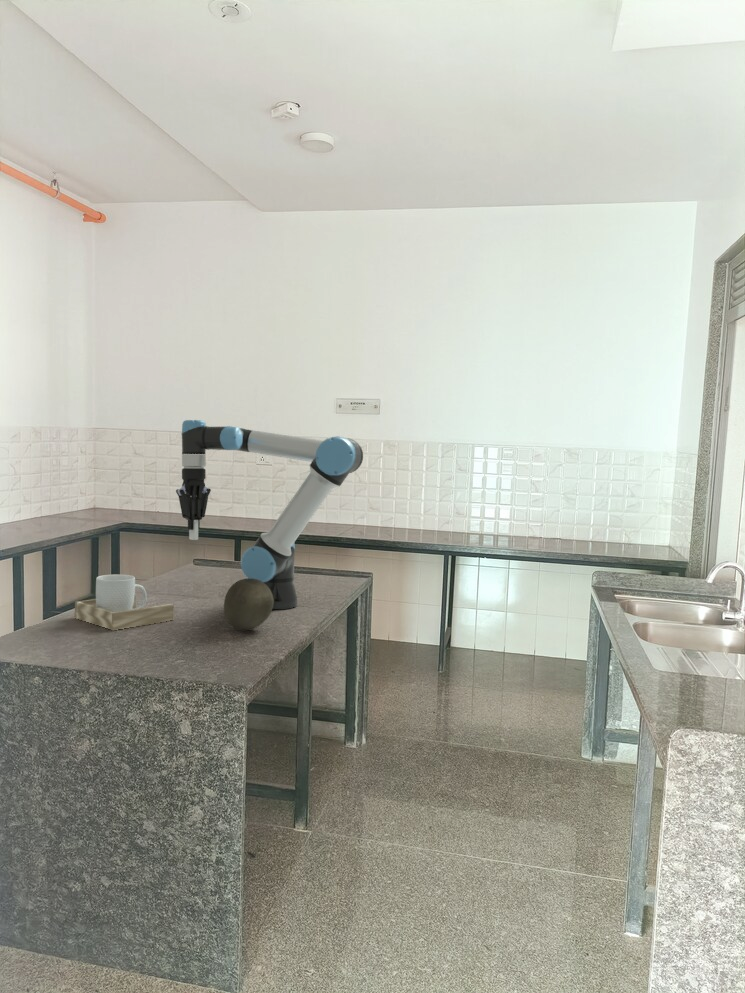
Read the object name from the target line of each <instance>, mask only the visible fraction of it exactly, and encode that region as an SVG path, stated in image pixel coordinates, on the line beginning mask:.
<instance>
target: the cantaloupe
mask: <svg viewBox="0 0 745 993" xmlns="http://www.w3.org/2000/svg"><path fill="white" fill-rule="evenodd" d="M273 603H274V599H273V596H272V593H271V590H270V589H269V587H268V586H267V585H266V584H265V583H263V582H262V581H260V580H257V579H253V578H252V579H248V578H242V579H239V580H237V581H236V582H234V583H233V584H232V585H231V586H230V587H229V588H228V590H227V591H226V594H225V597H224V601H223V611H224V616H225V619H226V620H227V623H228V624H229V625H230V626H232V628H234V629H235V630H238V631H251V630H252V629H255V628H257V627H259V626H260V625H262V624H263V623H264V622H266V620H268V618H269V616H270V615H271V614H272V611H273V609H272V608H273Z"/></svg>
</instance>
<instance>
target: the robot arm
mask: <svg viewBox="0 0 745 993" xmlns="http://www.w3.org/2000/svg"><path fill="white" fill-rule="evenodd" d="M207 450H208V451H209V450H213V451H214V450H217V451H219V450H220V451H240V452H243V453H245V452H246V453H252V454H253V453H254V454H259V455H265V456H272V457H278V458H285V459H291V460H292V459H293V460H297V461H305V462H311V463H310V464H309V470H310V471H309V474H308V475H307V476H306V478H305V480H304V481H303V482H302V483H301V485H300V486H299V488H298V490H297V491H296V493H294V495H293V497H291V500H290V501H289V502H288V504H287V505H286V507H285V508H284V509H283V511H282V512H281V514H280V515H279V516H278V518H277V519H276V521H275V522H274V524H273V525H272V526H271V528H270V529H269V530H268V531H267V532H262V533H261V534H260V535H259V537H258V538H257V540H256V541H255V542H254V544H253V546H251V547H249V548H247V549H246V550H245V551H244V552H243V553H242V556H241V560H240V567H241V571H242V573H243V574H244V576H245V577H246V579H252V578H253V579H257V580H260V581H262V582H263V583H265V584H266V585H267V586H268V587H269V589H270V590H271V593H272V596H273V599H274V603H273V608H272V610H287V609H293V607H294V608H296V607H298V605H299V597H298V596H297V593H296V592H297V591H296V587H295V583H294V578H295V577H294V576H295V574H294V573H295V556H296V555H295V553H296V552H295V551H296V545H295V542H296V541H297V539H298V537H299V536H300V535H301V533H302V532H303V531H304V529H305V528H306V526H307V525H308V524H309V522H310V520H312V518H313V516H314V515H315V513H316V512H317V511H318V509H319V508H320V506H321V505H322V504H323V503H324V501H325V499H326V498H327V497H328V495H329V494H330V492H332V490H333V489H335V488H339V487H341V485H342V484H343V482H344V481H345V479H347V477H348V476H349V475H350V474H351V473H354V472H356V471H357V470H359V468H360V467H361V466H362V463H363V460H364V452H363V449H362V446H361V445H360V443H358V442H357V441H356V440H354V439H353V438H350V437H349V438H347V437H343V436H332V437H329V438H328V437H326V438H325V439H324V440H321V439H316V438H306V437H300V436H293V435H286V434H280V433H273V432H266V431H259V430H253V429H246V428H242V427H241V428H240V427H238V426H230V425H227V426H207V425H206V421H205V420H201V419H200V420H197V419H185V420H183V421H182V424H181V466H182V467H183V468H182V469H181V479H182V484H181V487H180V488H177V489H176V490H175V492H176V494H177V496H178V500H179V506H180V510H181V515H182V519H185V520H186V521H187V530H188V538H189V540H191V541H199V530H200V528H201V526H200V524H201V523H200V522H201V520H203V518H205V515H206V512H207V511H206V510H207V505H208V502H209V495H210V494H211V491H212V489H211V488H208V487H207V486H206V483H205V480H206V476H207V475H206V468H205V467H206V451H207Z"/></svg>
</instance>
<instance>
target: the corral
mask: <svg viewBox="0 0 745 993" xmlns="http://www.w3.org/2000/svg"><path fill="white" fill-rule="evenodd" d="M136 599H137V594H136V593H135V597H134V603H133V608H132V609H134V610H128V611H122V612H116V613H115V612H112V611H108V610H105V609H102V608H99V607H97V605H96V598H91V599H86V600H78V601H74V619H75V618H76V619H75V620H78V619H79V621H81V620H82V622H84V621H86V622H85V623H87V622H89V623H88V624H90V623H92V624H91V625H93V624H95V625H94V626H96V625H99V626H102V627H105V628H108V629H111V630H117V631H119V630H118V629H123V630H125V629H124V628H129V627H134V628H137V627H136V626H140V627H143V626H142V625H145V626H149V625H148V624H151V625H154V623H156V624H160V622H162V623H167V622H171V621H170V620H173V621H174V612H175V611H174V606H175V604H174V603H167V604H166V603H165V604H161V605H154V606H148V607H142V608H141V609H135V608H137V607H136V603H137V600H136ZM166 621H167V622H166ZM99 626H98V627H99ZM102 627H101V628H102ZM105 628H104V629H105ZM108 629H107V630H108ZM129 629H130V628H129ZM111 630H110V631H111Z"/></svg>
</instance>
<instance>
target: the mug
mask: <svg viewBox="0 0 745 993" xmlns="http://www.w3.org/2000/svg"><path fill="white" fill-rule="evenodd" d="M136 589H140V590H141V591H142V600H141V603H140V604H139V605H138V606H137V607H136V608H135V609H141V608H144V607H145V605H146V603H147V596H148V594H147V591H146V589H145V587H144V586H143V585H141V584H137V583H136V577H135V576H134V575H131V574H130V575H129V574H115V573H114V574H104V575H103V574H102V575H99V576H96V580H95V599H96V605H97V607H99V608H102V609H105V610H108V611H112V612H115V613H116V612H122V611H128V610H134V609H132V608H133V603H134V597H135V594H136Z"/></svg>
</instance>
